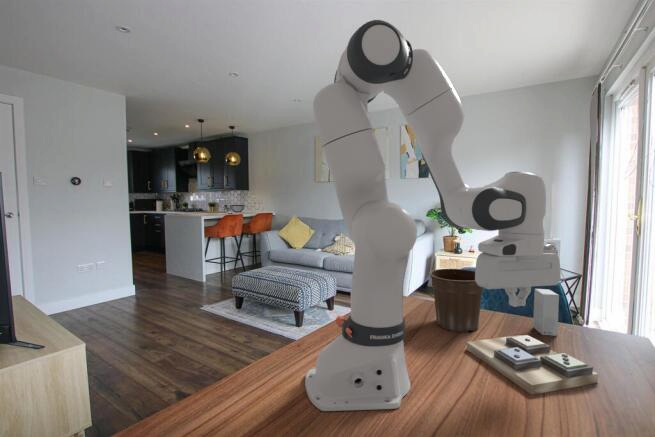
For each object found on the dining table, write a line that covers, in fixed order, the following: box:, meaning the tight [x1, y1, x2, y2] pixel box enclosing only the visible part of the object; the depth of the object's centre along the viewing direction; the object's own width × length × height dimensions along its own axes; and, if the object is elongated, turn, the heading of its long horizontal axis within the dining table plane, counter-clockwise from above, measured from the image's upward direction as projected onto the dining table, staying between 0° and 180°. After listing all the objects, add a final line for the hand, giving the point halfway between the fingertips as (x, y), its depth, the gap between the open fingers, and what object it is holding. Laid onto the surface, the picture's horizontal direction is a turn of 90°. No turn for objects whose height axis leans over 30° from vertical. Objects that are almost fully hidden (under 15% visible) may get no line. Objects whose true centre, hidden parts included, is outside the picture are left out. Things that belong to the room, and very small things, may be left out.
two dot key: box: [500, 347, 535, 363], centre depth 74 cm, size 5×5×2 cm
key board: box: [466, 334, 599, 396], centre depth 76 cm, size 17×20×4 cm
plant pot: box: [429, 268, 485, 333], centre depth 100 cm, size 16×16×16 cm
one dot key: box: [511, 334, 546, 348], centre depth 80 cm, size 5×5×2 cm
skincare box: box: [532, 288, 560, 337], centre depth 94 cm, size 6×4×12 cm
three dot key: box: [546, 352, 587, 370], centre depth 71 cm, size 5×5×2 cm
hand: (517, 305), depth 73 cm, fingers closed
